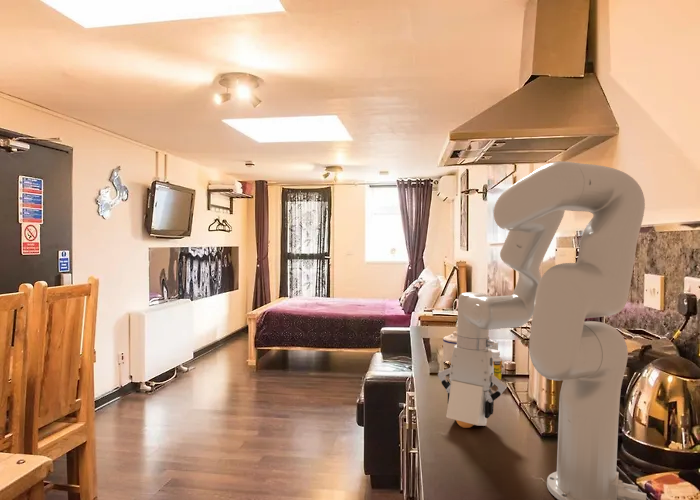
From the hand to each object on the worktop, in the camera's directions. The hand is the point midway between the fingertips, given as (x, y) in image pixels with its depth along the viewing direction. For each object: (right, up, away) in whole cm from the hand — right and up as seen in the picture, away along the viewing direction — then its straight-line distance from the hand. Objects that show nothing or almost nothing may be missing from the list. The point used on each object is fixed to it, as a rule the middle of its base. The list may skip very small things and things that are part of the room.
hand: (469, 411), depth 110 cm
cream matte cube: (-1, -2, -1) cm, 3 cm away
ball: (-1, -1, -2) cm, 2 cm away
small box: (+17, -3, +47) cm, 50 cm away
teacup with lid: (+9, -2, +57) cm, 57 cm away
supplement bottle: (+17, -3, +34) cm, 38 cm away
